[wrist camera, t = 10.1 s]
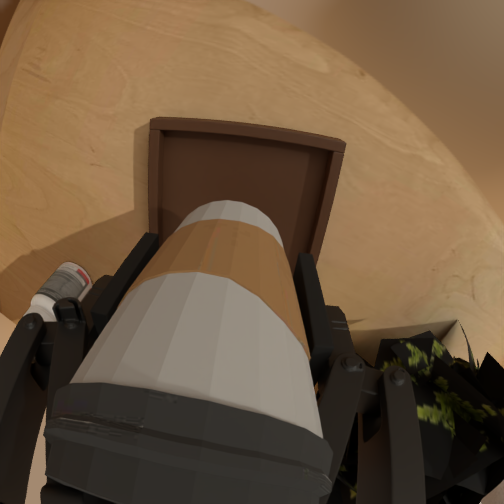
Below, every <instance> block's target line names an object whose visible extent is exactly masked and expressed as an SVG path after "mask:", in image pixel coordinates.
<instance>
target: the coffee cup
mask: <svg viewBox="0 0 504 504" xmlns="http://www.w3.org/2000/svg"><path fill="white" fill-rule="evenodd" d="M310 358H311V357H310V352H309V348H308V343H307V339H306V334H305V330H304V325H303V321H302V316H301V312H300V308H299V303H298V299H297V295H296V291H295V286H294V282H293V278H292V274H291V270H290V266H289V262H288V260H287V257H286V254H285V252H284V248H283V243H282V240H281V237H280V235H279V232H278V230H277V228H276V227H275V225H274V224H273V223H272V221H271V220H270V219H269V217H267V216H266V215H265V214H264V213H262V212H261V211H260V210H258V209H257V208H255V207H252V206H250V205H248V204H245V203H243V202H237V201H230V200H224V201H214V202H210V203H208V204H205V205H203V206H200V207H198V208H197V209H195V210H194V211H193V212H191V213H190V214H189V215H188V216H187V217H186V218H185V219H184V221H183V222H182V223H181V224H180V226H179V227H178V228H177V229H176V231H175V232H174V233H173V234H172V235H171V236H170V237H168V238H167V240H166V241H165V242H164V243H163V245H162V246H161V247H160V248H159V250H158V251H157V252H156V254H155V255H154V256H153V257H152V259H151V260H150V261H149V263H148V264H147V265H146V267H145V268H144V269H143V271H142V272H141V273H140V274H139V276H138V277H137V279H136V280H135V281H134V283H133V284H132V285H131V287H130V288H129V289H128V291H127V292H126V294H125V295H124V297H123V299H122V300H121V302H120V304H119V305H118V307H117V310H116V312H115V313H114V315H113V316H112V318H111V319H110V321H109V322H108V323H107V325H106V326H105V328H104V329H103V331H102V332H101V334H100V336H99V337H98V339H97V340H96V342H95V343H94V345H93V346H92V348H91V349H90V351H89V353H88V354H87V356H86V357H85V359H84V360H83V362H82V364H81V365H80V367H79V369H78V370H77V372H76V374H75V375H74V377H73V378H72V380H71V382H70V384H68V385H66V386H64V387H62V388H60V389H57V391H56V394H55V397H54V401H53V407H52V414H51V418H50V419H48V420H47V423H46V426H45V429H44V434H43V436H44V437H45V439H46V440H47V441H48V442H49V443H50V444H51V449H50V453H49V458H48V462H47V467H46V471H45V475H46V476H47V477H49V478H51V479H53V480H55V481H57V482H59V483H61V484H63V485H65V486H70V487H72V488H75V489H78V490H81V491H83V492H86V493H88V494H91V495H94V496H97V497H99V498H102V499H105V500H108V501H111V502H114V503H115V504H319V497H322V496H324V495H326V494H328V493H331V491H332V482H331V481H330V479H329V478H328V476H329V472H330V467H331V462H332V457H333V451H332V449H331V448H330V446H329V444H328V442H327V441H326V440H324V439H323V434H322V428H321V423H320V417H319V412H318V407H317V401H316V396H315V391H314V386H313V381H312V376H311V371H310V366H309V361H310Z"/></svg>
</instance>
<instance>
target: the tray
mask: <svg viewBox="0 0 504 504" xmlns="http://www.w3.org/2000/svg"><path fill="white" fill-rule="evenodd" d="M345 147H346V142H344V141H342V140H341V139H338V138H333V137H328V136H324V135H319V134H314V133H308V132H303V131H297V130H292V129H286V128H279V127H273V126H266V125H258V124H250V123H242V122H233V121H222V120H211V119H197V118H177V117H156V118H152V119H150V132H149V163H148V203H149V233H156V234H159V248H160V247H161V246H162V245H163V243H164V242H165V241H166V240H167V238H168V237H170V236H171V235H172V234H173V233H174V232H175V231H176V229H177V228H178V227H179V226H180V224H181V223H182V222H183V221H184V219H185V218H186V217H187V216H188V215H189V214H190V213H191V212H193V211H194V210H195V209H197V208H198V207H200V206H203V205H205V204H208V203H210V202H214V201H224V200H230V201H237V202H243V203H245V204H248V205H250V206H252V207H255V208H257V209H258V210H260V211H261V212H262V213H264V214H265V215H266V216H267V217H269V219H270V220H271V221H272V223H273V224H274V225H275V227H276V228H277V230H278V232H279V235H280V237H281V240H282V243H283V248H284V252H285V254H286V257H287V260H288V262H289V266H290V270H291V274H292V278H293V274H294V270H295V266H296V262H297V258H298V254H299V252H300V253H307V254H313V258H314V262H315V266H316V264H317V261H318V257H319V254H320V250H321V246H322V243H323V239H324V235H325V232H326V228H327V224H328V220H329V216H330V212H331V208H332V204H333V200H334V196H335V192H336V187H337V183H338V179H339V175H340V170H341V166H342V161H343V156H344V152H345Z"/></svg>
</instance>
